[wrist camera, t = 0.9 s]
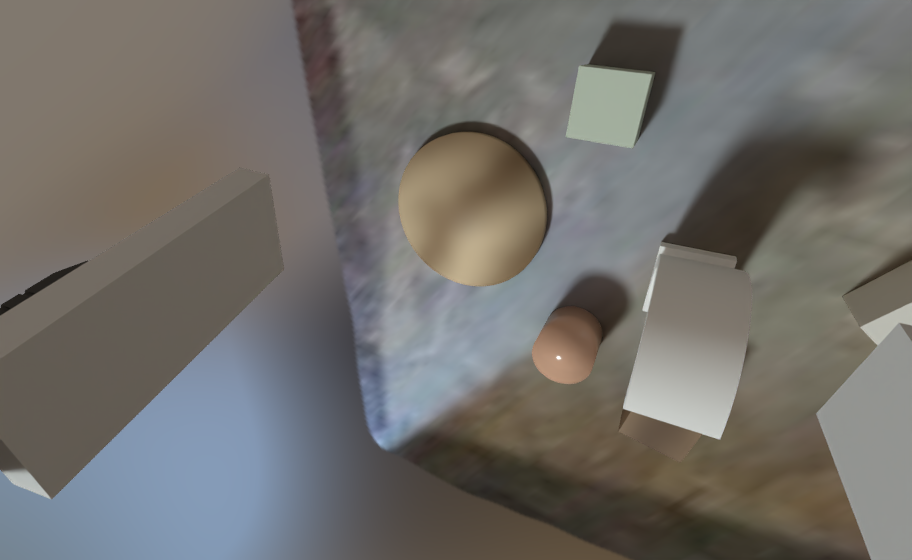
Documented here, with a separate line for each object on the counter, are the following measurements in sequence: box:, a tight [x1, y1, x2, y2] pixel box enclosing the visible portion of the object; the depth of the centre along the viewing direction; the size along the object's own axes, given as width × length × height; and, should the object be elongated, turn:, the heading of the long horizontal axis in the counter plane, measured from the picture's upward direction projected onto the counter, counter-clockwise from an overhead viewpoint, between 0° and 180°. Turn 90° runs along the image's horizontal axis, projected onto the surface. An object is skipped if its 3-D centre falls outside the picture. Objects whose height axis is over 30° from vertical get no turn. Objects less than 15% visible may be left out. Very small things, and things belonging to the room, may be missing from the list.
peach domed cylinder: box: [532, 306, 602, 384], centre depth 36 cm, size 4×4×4 cm
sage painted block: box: [566, 64, 655, 148], centre depth 29 cm, size 4×4×3 cm
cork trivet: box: [399, 132, 547, 286], centre depth 37 cm, size 12×12×1 cm
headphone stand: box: [623, 242, 752, 439], centre depth 27 cm, size 5×6×12 cm
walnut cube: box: [618, 395, 702, 463], centre depth 35 cm, size 4×4×4 cm
